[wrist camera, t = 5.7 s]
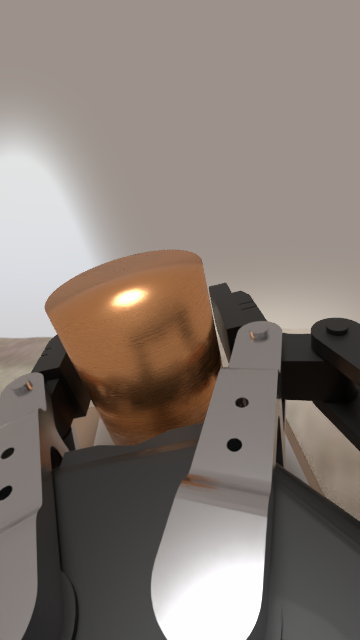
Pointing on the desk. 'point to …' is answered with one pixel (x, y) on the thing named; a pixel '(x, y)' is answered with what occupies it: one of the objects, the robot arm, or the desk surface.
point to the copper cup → (141, 341)
